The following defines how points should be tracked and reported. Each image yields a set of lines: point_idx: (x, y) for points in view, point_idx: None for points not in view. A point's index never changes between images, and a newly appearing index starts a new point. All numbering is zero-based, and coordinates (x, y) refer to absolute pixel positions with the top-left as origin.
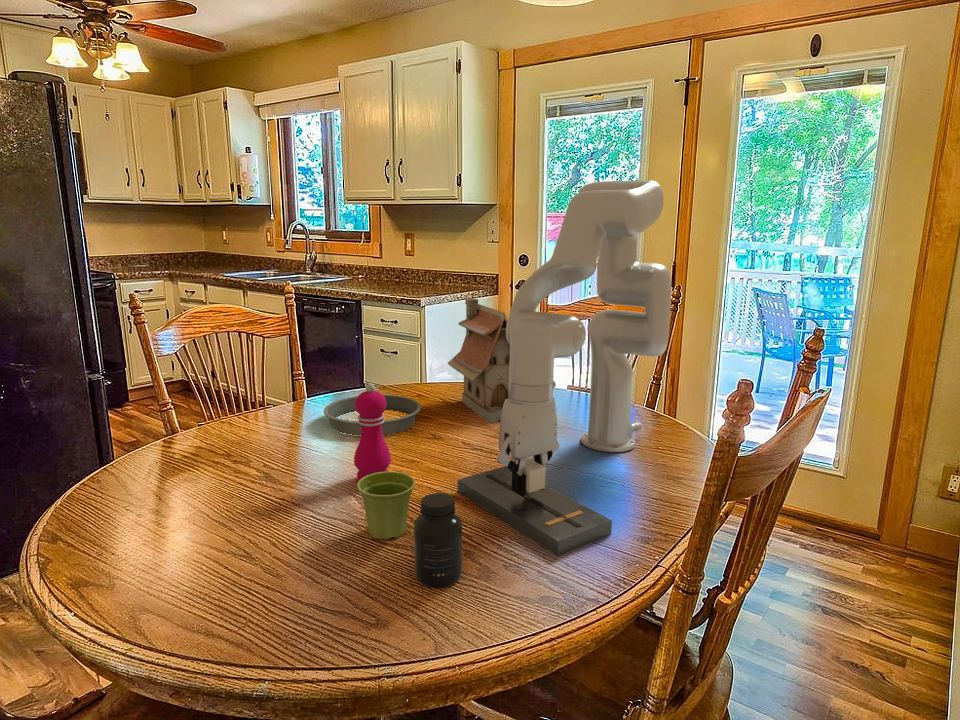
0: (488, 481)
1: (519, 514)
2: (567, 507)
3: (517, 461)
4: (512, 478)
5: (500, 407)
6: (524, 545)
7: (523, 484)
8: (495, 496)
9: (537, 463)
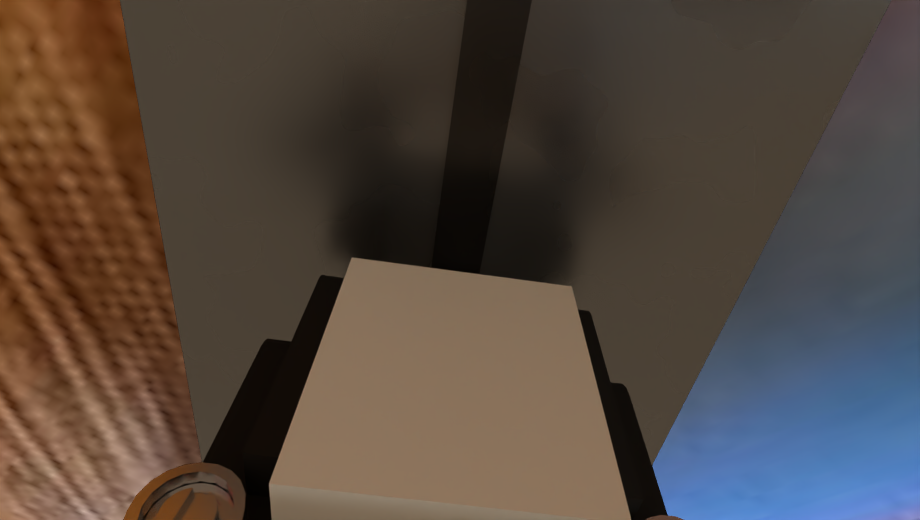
0: None
1: (219, 412)
2: None
3: (372, 515)
4: (229, 424)
5: None
6: (178, 441)
7: None
8: (223, 119)
9: None
